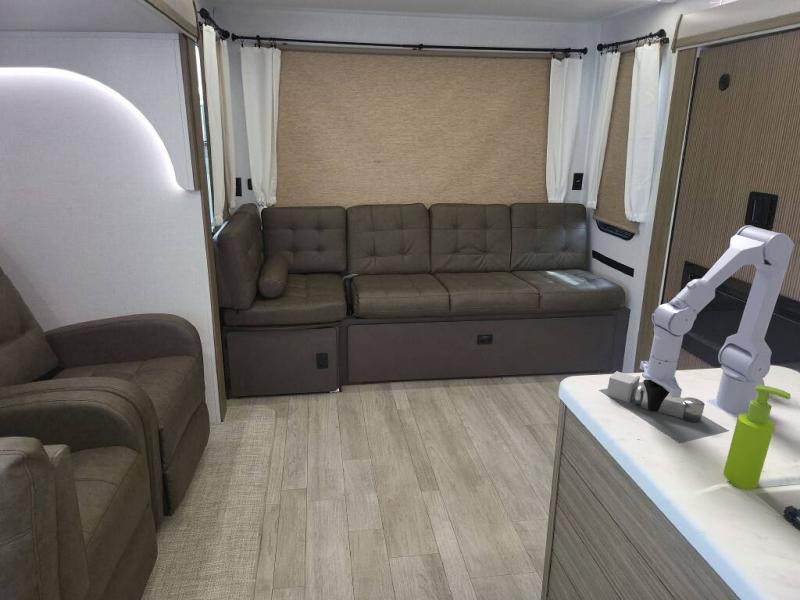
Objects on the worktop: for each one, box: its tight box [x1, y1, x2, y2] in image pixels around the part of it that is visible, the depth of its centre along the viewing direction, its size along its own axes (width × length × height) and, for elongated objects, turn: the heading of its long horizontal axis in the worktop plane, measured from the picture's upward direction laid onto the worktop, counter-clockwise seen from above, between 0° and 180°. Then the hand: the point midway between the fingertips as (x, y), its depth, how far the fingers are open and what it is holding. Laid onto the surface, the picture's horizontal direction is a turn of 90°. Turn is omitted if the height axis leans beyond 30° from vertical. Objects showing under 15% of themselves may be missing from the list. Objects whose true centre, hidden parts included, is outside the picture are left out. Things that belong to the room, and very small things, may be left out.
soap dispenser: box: [723, 385, 791, 491], centre depth 106 cm, size 6×7×20 cm
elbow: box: [634, 385, 705, 422], centre depth 132 cm, size 14×5×5 cm, turn 60°
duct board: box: [598, 370, 730, 444], centre depth 133 cm, size 15×25×6 cm, turn 23°
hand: (652, 410), depth 131 cm, fingers closed
